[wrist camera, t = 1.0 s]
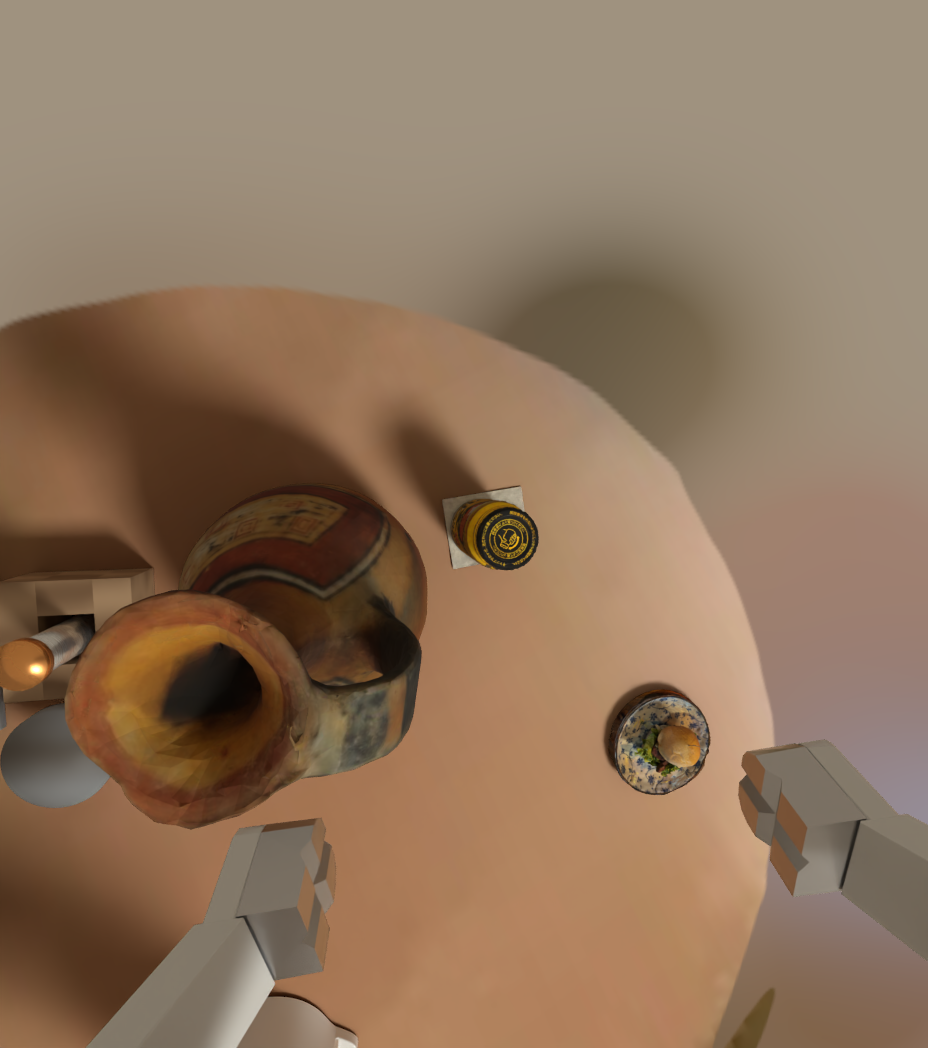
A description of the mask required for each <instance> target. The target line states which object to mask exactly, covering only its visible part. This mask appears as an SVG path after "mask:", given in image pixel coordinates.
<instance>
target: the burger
mask: <svg viewBox="0 0 928 1048" xmlns="http://www.w3.org/2000/svg"><path fill="white" fill-rule="evenodd" d="M611 729H612V731H613V733H611V735H612V736H611V735H610V738H611V737H612V738H611V739H609V754H610V756H611V758H612V760H613V762H614V763H615V766H616V768H617V770H618V773H619V775H620V776H621V778H622V779H623V780H624V781H625V782H626V783H627V784H629V785H630V786H631V787H632V788H634V789H635V790H637V791H639V792H642V793H645V794H651V795H665V794H668V793H670V792H672V791H674V790H676V789H678V788H680V787H683V786H685V785H687V783H688V782H689V781H691V780H692V779H694V778H695V777H696V776H697V775H698V774H699V773H700V771H701V770H702V768H703V767H704V763H705V758H706V755H707V754H708V752H709V749H708V748H709V745H710V732H709V728H708V724H707V722H706V719H705V717H704V715H703V713H702V712H701V710H700V709H699V708H698V707H697V706H696V705H695V704H694V703H693V702H692V701H691V700H689V699H688V698H686V697H685V696H683V695H682V694H680V693H676V692H673V691H671V690H664V689H662V690H653V691H649V692H646V693H643V694H642V695H639V696H637V697H636V698H634V699H633V700H632V701H630V702H629V703H628V704H627V705H626V706H625V707H624V708H623V709H622V710H621V711H620V713H619V714H618V716H617V718H616V719H615V721H614V723H613V726H612V728H611Z"/></svg>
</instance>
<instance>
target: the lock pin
mask: <svg viewBox="0 0 928 1048" xmlns="http://www.w3.org/2000/svg"><path fill="white" fill-rule="evenodd" d="M95 632H96V631H95V617H94V614H79V615H77V616H74V617H72V618H70V619H68V620H66V621H64V622H62V623H60V624H57V625H55V626H53V627H51V628H49V629H47V630H45V631H42V632H40V633H38V634H36V635H34V636H32V637H30V638H19V639H16V640H13V641H11V642H9V643H7V644H5V645H3V646H1V647H0V686H1V687H2V688H4V689H7V690H11V691H24V690H28V689H31V688H33V687H34V686H36V685H38V684H39V683H41V682H42V681H44V680H45V679H46V678H48V676H49V675H50V674H51V672H52V671H53V670H54V669H56V668H57V667H59V666H61V665H62V664H64V663H66V662H67V661H69V660H71V659H72V658H74V657H75V656H77V655H79V654H80V653H82V651H83V650H84V649H85V647H86V646H87V644H88V643H89V641H90V640H91V638H92V637H93V635H94V634H95Z"/></svg>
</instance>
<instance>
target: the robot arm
mask: <svg viewBox="0 0 928 1048" xmlns="http://www.w3.org/2000/svg"><path fill="white" fill-rule="evenodd" d="M741 766H742V768H743V769H744V771H745V772H746V774H747V775H746V776H745V777H744V778H743V779H742V780H741V781H740V782H739V794H738V796H739V800H740V805H741V809H742V812H743V814H744V816H745V819H746V821H747V823H748V825H749V827H750V828H751V830H752V832H753V833H754V835H755V836H756V837H757V838H759V839H760V840H762V841H763V842H765V843H766V844H768V845H769V846H771V849H770V861H771V863H772V864H773V866H774V867H775V869H776V870H777V872H778V874H779V875H780V877H781V879H782V880H783V882H784V883H785V885H786V887H787V888H788V890H789V891H790V893H791V895H792V896H793V897H797V896H805V895H813V894H821V893H829V892H837V891H842V893H841V894H842V895H843V896H845V897H846V898H847V899H848V900H850V901H851V902H852V903H854V904H855V905H856V906H858V907H859V908H860V909H861V910H862V911H864V912H865V913H866V914H868V915H869V916H870V917H871V918H873V919H874V920H875V921H877V922H878V923H879V924H880V925H882V926H883V927H884V928H886V929H887V930H888V931H890V932H891V933H892V934H893V935H894V936H896V937H897V938H899V940H901V941H902V942H903V943H905V944H906V945H907V946H908V947H910V948H911V949H912V950H913V951H915V952H916V953H918V954H919V955H920V956H921V957H922V958H924V959H925V960H926V961H928V825H927V824H925V823H923V822H921V821H919V820H917V819H916V818H914V817H912V816H910V815H908V814H904V815H898V814H897V812H896V811H895V810H894V809H893V808H892V807H891V806H890V805H889V804H888V803H887V802H886V801H885V800H884V798H883V797H882V796H880V794H879V793H878V792H877V791H876V790H875V789H874V788H873V787H872V786H871V784H870V783H869V782H868V781H867V780H866V779H865V778H864V777H863V776H862V775H861V774H860V773H859V772H858V770H857V769H856V768H855V767H854V766H853V765H852V764H851V763H850V762H849V761H848V760H847V759H846V758H845V756H844V755H843V754H842V753H841V752H840V751H839V750H838V749H837V748H836V747H835V746H834V745H833V744H832V743H831V742H829V741H827V740H818V741H811V742H805V743H799V744H795V743H794V744H788V745H782V746H776V747H770V748H764V749H758V750H753V751H747V752H746V753H745V754H744V755H743V758H742V765H741ZM325 832H326V828H325V826H324V823H323V821H322V818H316V819H308V820H299V821H291V822H283V823H275V824H267V825H260V826H253V827H246V828H239V830H238V831H237V833H236V834H235V836H234V837H233V839H232V842H231V844H230V847H229V850H228V853H227V856H226V859H225V861H224V864H223V867H222V870H221V873H220V876H219V879H218V881H217V884H216V887H215V890H214V893H213V896H212V898H211V901H210V904H209V907H208V910H207V913H206V916H205V918H204V921H203V923H202V924H197V925H194V926H193V927H192V928H191V929H190V930H189V932H188V933H187V934H186V935H185V936H184V937H183V938H182V939H181V941H180V942H179V943H178V944H177V945H176V946H175V947H174V949H173V950H172V951H171V952H170V953H169V954H168V955H167V956H166V958H165V959H164V960H163V961H162V962H161V963H160V964H159V965H158V967H157V968H156V969H155V970H154V971H153V972H152V973H151V974H150V976H149V977H148V978H147V979H146V980H145V981H144V982H143V984H142V985H141V986H140V987H139V988H138V989H137V990H136V991H135V993H134V994H133V995H132V996H131V997H130V998H129V999H128V1000H127V1002H126V1003H125V1004H124V1005H123V1006H122V1007H121V1008H120V1010H119V1011H118V1012H117V1013H116V1014H115V1015H114V1016H113V1017H112V1019H111V1020H110V1021H109V1022H108V1023H107V1024H106V1025H105V1026H104V1028H103V1029H102V1030H101V1031H100V1032H99V1033H98V1034H97V1036H96V1037H95V1038H94V1039H93V1040H92V1041H91V1042H90V1043H89V1045H88V1046H87V1047H86V1048H358V1039H357V1037H356V1036H355V1035H354V1034H353V1033H351V1032H349V1031H347V1030H344V1029H342V1028H339V1027H336V1026H335V1025H333V1024H332V1023H331V1022H330V1021H329V1020H328V1019H327V1018H326V1017H325V1016H324V1015H323V1013H321V1012H320V1011H319V1010H318V1009H317V1008H315V1007H314V1006H312V1005H310V1004H308V1003H306V1002H304V1001H301V1000H298V999H294V998H289V997H268V995H269V993H270V992H271V990H272V988H273V987H274V985H275V982H274V980H280V979H285V978H290V977H295V976H301V975H306V974H311V973H316V972H322V971H324V964H325V958H326V951H327V944H328V938H329V931H330V927H329V925H328V922H327V919H326V916H325V913H326V912H327V910H328V909H329V908H330V906H331V905H332V903H333V902H334V896H335V888H336V862H335V856H334V852H333V849H332V846H331V845H330V844H328V843H327V842H325V841H324V838H325Z"/></svg>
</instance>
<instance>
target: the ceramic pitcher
mask: <svg viewBox="0 0 928 1048" xmlns="http://www.w3.org/2000/svg"><path fill="white" fill-rule="evenodd" d="M426 615H427V577H426V572H425V567H424V564H423V561H422V559H421V556H420V553H419V550H418V548H417V547H416V545H415V543H414V541H413V540H412V538H411V536H410V535H409V534H408V533H407V531H406V530H405V529H404V528H403V526H402V525H401V524H400V523H399V522H398V521H397V520H396V519H395V517H393V516H392V515H391V514H390V513H389V512H387V511H386V510H385V509H384V508H383V507H382V506H380V505H379V504H377V503H376V502H375V501H373V500H372V499H370V498H368V497H366V496H364V495H362V494H360V493H358V492H355V491H353V490H350V489H347V488H344V487H340V486H336V485H328V484H321V483H303V484H293V485H288V486H282V487H277V488H273V489H270V490H266V491H263V492H260V493H258V494H255V495H253V496H251V497H249V498H247V499H245V500H244V501H242V502H241V503H239V504H237V505H236V506H234V507H233V508H231V509H230V510H229V511H227V512H226V513H225V514H224V515H222V516H221V517H220V518H219V519H218V520H217V521H216V522H215V523H214V524H213V525H212V526H211V527H210V528H209V529H207V531H206V532H205V533H204V534H203V536H202V537H201V538H200V539H199V540H198V542H197V543H196V544H195V546H194V547H193V549H192V550H191V552H190V554H189V556H188V558H187V560H186V562H185V564H184V568H183V571H182V574H181V578H180V581H179V587H178V590H173V591H168V592H165V593H161V594H157V595H153V596H149V597H147V598H144V599H142V600H139V601H137V602H134V603H132V604H129V605H127V606H125V607H122V608H120V609H119V610H118V611H117V612H116V613H114V614H113V615H112V616H111V617H110V618H108V619H107V620H106V621H105V622H104V624H103V625H102V626H101V628H100V629H99V630H98V631H96V632H95V634H94V635H93V637H92V638H91V640H90V641H89V643H88V644H87V646H86V647H85V649H84V650H83V651H82V653H81V654H80V657H79V659H78V661H77V663H76V665H75V667H74V669H73V671H72V673H71V676H70V680H69V684H68V688H67V691H66V695H65V699H64V700H65V720H66V723H67V725H68V728H69V730H70V733H71V735H72V738H73V739H74V740H75V741H76V743H77V745H78V746H79V748H80V749H81V751H82V752H83V754H84V755H86V756H87V757H88V758H89V759H90V760H91V761H92V762H94V763H95V764H96V765H97V766H98V767H100V768H101V769H102V770H103V771H105V772H106V773H107V774H108V775H109V776H111V777H112V778H113V779H114V780H115V781H116V782H117V783H118V784H119V785H120V786H121V787H122V790H123V792H124V794H125V796H126V797H127V799H128V800H129V801H130V802H131V803H132V805H134V806H135V807H136V808H137V809H138V810H140V811H141V812H143V813H144V814H145V815H147V816H148V817H149V818H150V819H152V820H153V821H154V822H157V823H162V824H169V825H177V826H181V827H184V828H187V829H195V828H199V827H203V826H206V825H209V824H213V823H216V822H219V821H222V820H225V819H229V818H233V817H237V816H240V815H241V814H243V813H245V812H247V811H249V810H251V809H253V808H255V807H256V806H258V805H259V804H261V803H263V802H264V801H266V800H267V799H268V798H269V797H270V796H272V795H273V794H274V793H275V792H277V791H279V790H280V789H282V788H284V787H286V786H288V785H289V784H291V783H293V782H295V781H297V780H299V779H303V778H309V777H321V776H327V775H332V774H337V773H341V772H346V771H351V770H354V769H356V768H359V767H361V766H363V765H365V764H367V763H369V762H372V761H374V760H376V759H379V758H381V757H384V756H386V755H388V754H389V753H390V752H391V751H392V750H394V749H395V748H396V747H397V746H398V745H399V743H400V742H401V741H402V739H403V738H404V736H405V734H406V733H407V731H408V730H409V727H410V724H411V721H412V718H413V714H414V707H415V700H416V693H417V686H418V679H419V672H420V664H421V654H422V650H421V647H420V643H419V638H420V635H421V633H422V630H423V627H424V625H425V620H426Z"/></svg>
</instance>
